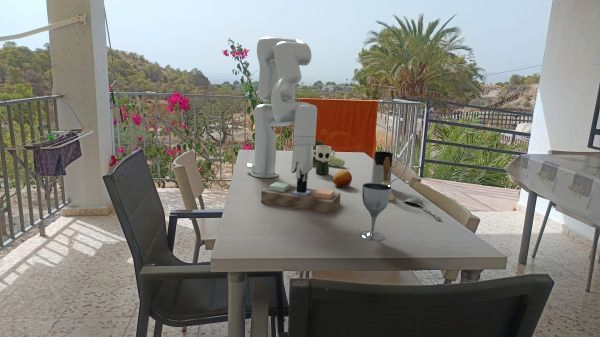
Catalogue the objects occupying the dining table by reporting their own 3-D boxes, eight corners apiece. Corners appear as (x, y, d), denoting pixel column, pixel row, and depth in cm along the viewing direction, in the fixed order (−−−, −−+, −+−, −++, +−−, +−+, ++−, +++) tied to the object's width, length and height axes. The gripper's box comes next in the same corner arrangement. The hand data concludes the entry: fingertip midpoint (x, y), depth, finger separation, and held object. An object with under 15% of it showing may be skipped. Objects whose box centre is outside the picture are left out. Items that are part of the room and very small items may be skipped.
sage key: (269, 193, 143) (269, 185, 142) (275, 189, 148) (275, 181, 147) (283, 195, 141) (284, 187, 140) (289, 191, 146) (289, 184, 146)
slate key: (290, 200, 140) (291, 192, 140) (296, 196, 146) (296, 188, 145) (305, 203, 139) (306, 194, 138) (311, 198, 144) (311, 190, 143)
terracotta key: (313, 200, 137) (314, 192, 137) (318, 196, 143) (319, 188, 142) (329, 203, 136) (329, 194, 135) (333, 198, 141) (334, 190, 140)
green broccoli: (348, 166, 209) (349, 144, 207) (338, 169, 199) (339, 147, 197) (306, 159, 222) (308, 138, 219) (295, 162, 212) (296, 141, 209)
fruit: (355, 186, 163) (346, 169, 163) (338, 194, 165) (329, 177, 165) (356, 181, 171) (348, 165, 170) (340, 189, 173) (331, 173, 172)
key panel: (261, 202, 141) (261, 191, 140) (274, 193, 152) (275, 183, 151) (330, 213, 133) (331, 202, 132) (339, 204, 144) (340, 193, 143)
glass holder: (371, 184, 174) (374, 150, 171) (404, 188, 170) (408, 154, 167) (368, 188, 166) (371, 153, 163) (402, 193, 162) (407, 157, 159)
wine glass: (355, 230, 119) (359, 182, 116) (381, 231, 120) (386, 182, 116) (361, 241, 111) (366, 189, 108) (389, 241, 112) (395, 190, 109)
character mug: (311, 175, 185) (312, 147, 182) (309, 171, 192) (311, 144, 189) (334, 175, 186) (336, 148, 183) (332, 172, 193) (334, 145, 190)
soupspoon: (416, 203, 154) (400, 204, 153) (417, 194, 153) (401, 195, 152) (447, 221, 132) (429, 222, 131) (448, 211, 132) (429, 212, 131)
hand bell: (382, 201, 150) (386, 160, 146) (368, 195, 157) (372, 155, 153) (399, 199, 153) (404, 159, 150) (385, 193, 160) (389, 154, 157)
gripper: (301, 136, 146) (299, 185, 150) (286, 142, 132) (283, 195, 136) (321, 138, 143) (318, 188, 147) (307, 144, 129) (304, 198, 133)
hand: (301, 191), depth 141 cm, fingers closed
